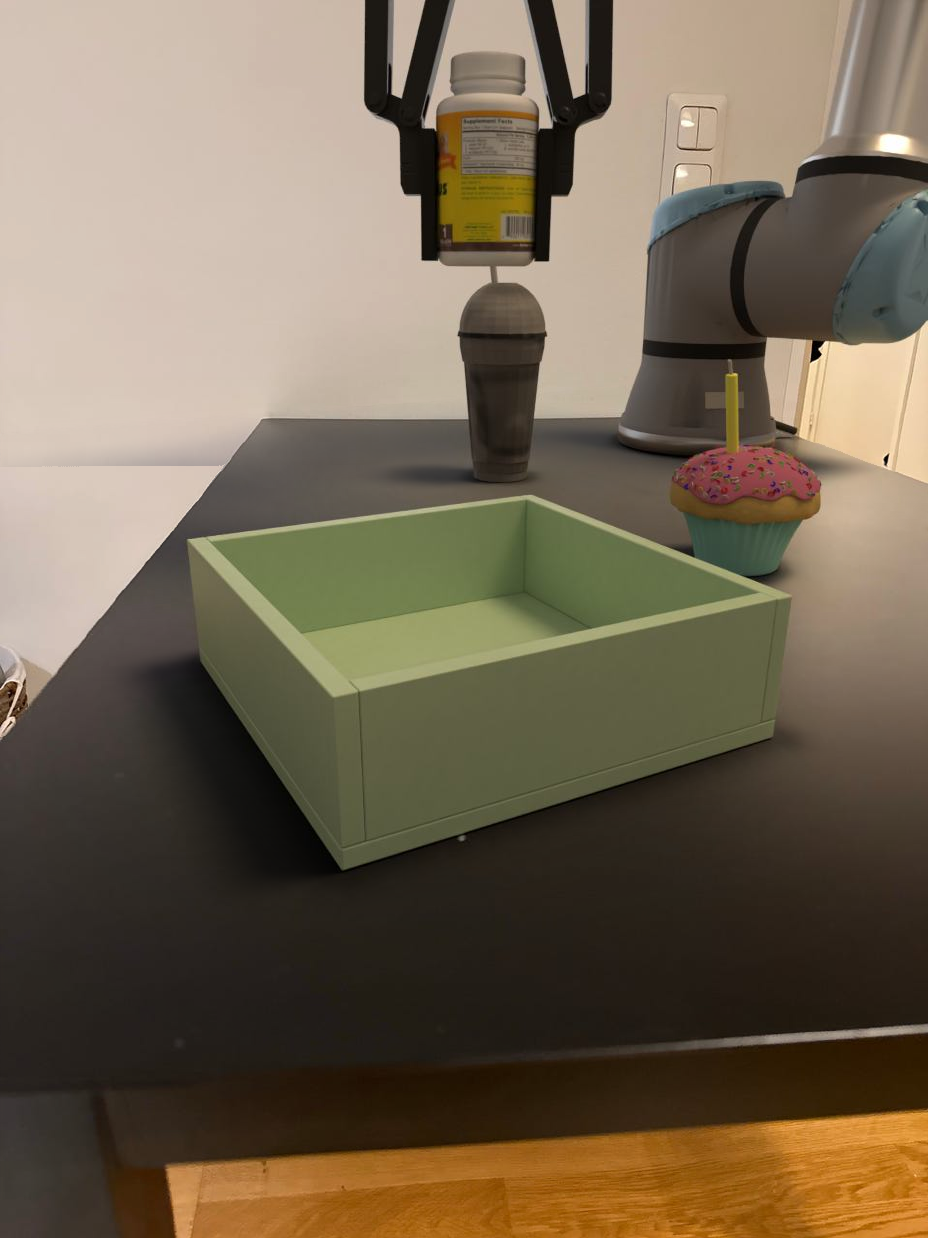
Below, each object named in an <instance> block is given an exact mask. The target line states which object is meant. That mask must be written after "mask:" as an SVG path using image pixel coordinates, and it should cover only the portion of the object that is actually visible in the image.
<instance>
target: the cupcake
mask: <svg viewBox="0 0 928 1238" xmlns="http://www.w3.org/2000/svg"><path fill="white" fill-rule="evenodd" d="M728 368H729V374H727V375H726V376H725V380H726V437H727V447H725V448H721V447H719V446H716V447H715V449H714V450H710V451H707V452H700V453H699V454H697V455H694V456H690V457H688V460H687V461H685V462H682V463H681V465H680V466H679V467H678V468H677V469H675V470H674V472H673V475H672V477H671V484H670V489H669V502H670V504H671V505H672V506H674V507H675V508H676V509H677V511H679V512H680V513H682V515H683V516H684V519H685V522H686V525H687V528H688V532H689V536H690V540H691V546H692V549H693V555H694V558H696V559H699V560H701V561H704V562H707V563H709V564H712V565H714V566H717V567H720V568H722V569H725V570H727V571H730V572H732V573H735V574H738V575H740V576H743V577H758V576H765V575H768V574H772V573H773V572H775V571H776V570H777V569H778V568H779V566H780V564H781V561H782V558H783V556H784V554H785V552H786V550H787V548H788V546H789V544H790V542H791V540H792V539H793V537H794V535H795V533H796V531H798V528H799V527H800V525H801V524H802V523H803V521H805V520H809V519H811V518H813V517H814V516H815V515H817V514H818V513H819V512H820V510H821V505H822V499H821V489H822V481H821V480H819V479H818V475H817V474H816V471H814V470H813V469H809V468H808V467H807V466H806V465H805V464H804V463H803V462H801V461H800V460H799V459H797V457H796V456H795V455H792V454H790V453H788V452H787V451H786V452H784V451H781V450H780V449H779V448H776V447H775V446H774V447H766V448H763V447H761V446H755V447H752V446H751V445H744V444H743V445H741V446H739V441H738V374H736V373H733V370H732V361H731V360H728Z"/></svg>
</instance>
